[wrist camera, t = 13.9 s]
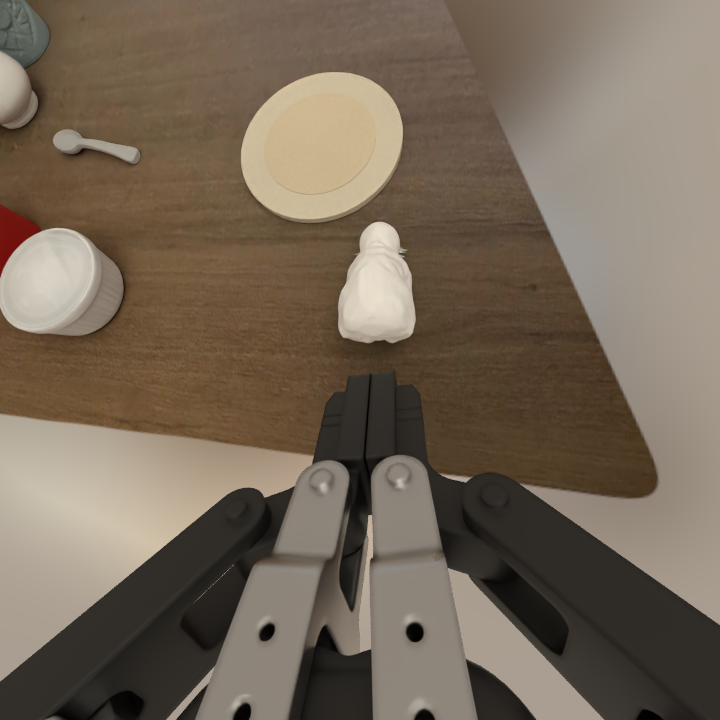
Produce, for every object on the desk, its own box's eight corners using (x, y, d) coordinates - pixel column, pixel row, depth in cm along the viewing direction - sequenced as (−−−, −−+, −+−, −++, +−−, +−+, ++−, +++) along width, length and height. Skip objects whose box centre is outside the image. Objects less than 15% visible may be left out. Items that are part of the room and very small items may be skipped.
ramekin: (150, 266, 41) (111, 243, 36) (105, 358, 40) (59, 347, 35) (76, 240, 44) (30, 214, 39) (32, 325, 43) (-22, 311, 37)
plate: (394, 61, 41) (393, 53, 40) (412, 206, 37) (412, 201, 36) (242, 98, 44) (238, 91, 43) (245, 236, 40) (241, 232, 39)
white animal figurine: (327, 327, 27) (333, 190, 30) (350, 360, 35) (353, 249, 38) (414, 323, 26) (411, 181, 29) (417, 357, 34) (414, 244, 37)
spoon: (67, 134, 47) (53, 121, 45) (147, 152, 45) (136, 140, 43) (58, 154, 47) (43, 143, 45) (138, 174, 45) (127, 162, 43)
